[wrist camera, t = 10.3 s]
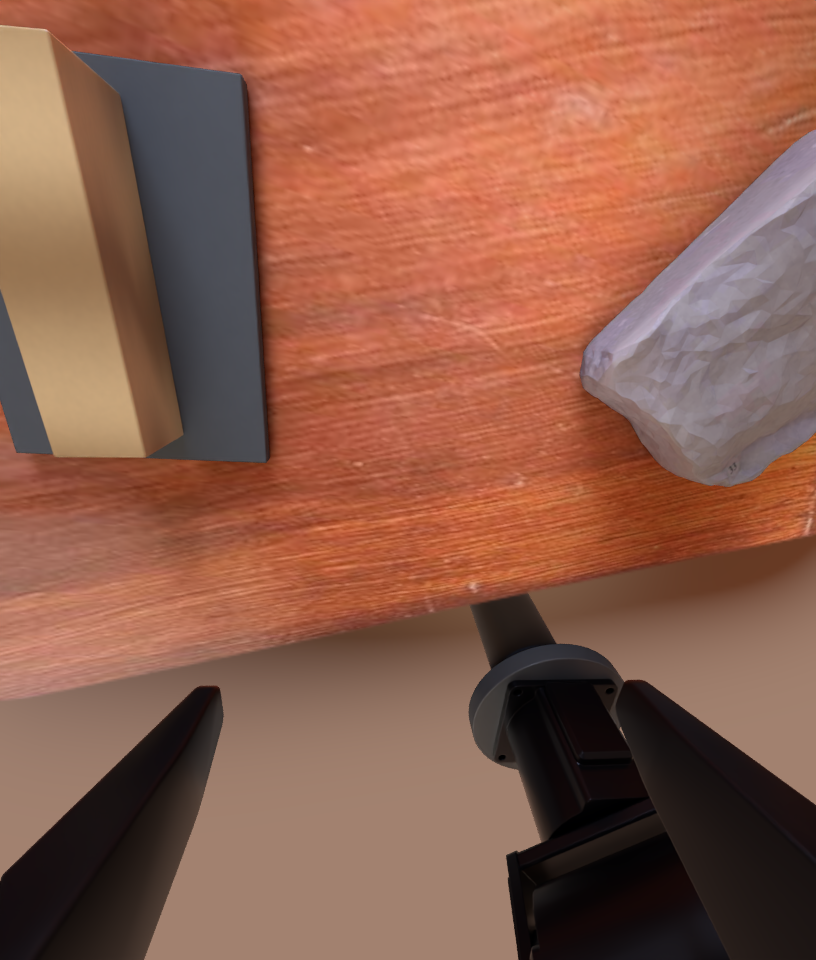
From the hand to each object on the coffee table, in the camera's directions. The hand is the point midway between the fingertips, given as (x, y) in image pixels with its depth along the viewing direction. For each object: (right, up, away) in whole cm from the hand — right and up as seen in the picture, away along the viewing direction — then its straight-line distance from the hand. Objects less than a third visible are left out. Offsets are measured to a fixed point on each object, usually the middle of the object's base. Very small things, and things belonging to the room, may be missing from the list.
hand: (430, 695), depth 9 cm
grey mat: (-11, +12, +6) cm, 17 cm away
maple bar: (-11, +12, +6) cm, 17 cm away
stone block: (+14, +11, +9) cm, 20 cm away
